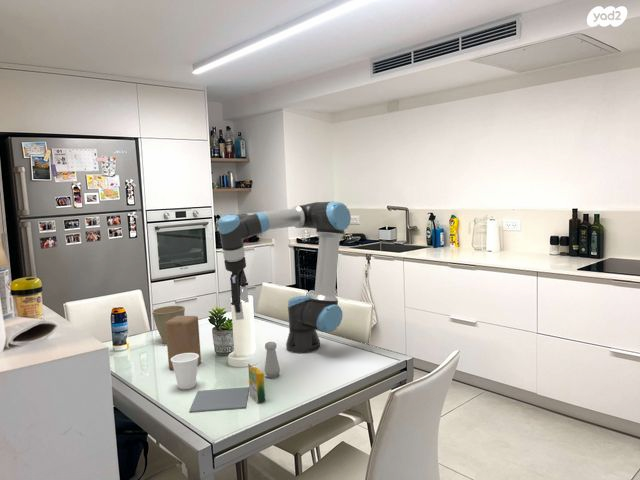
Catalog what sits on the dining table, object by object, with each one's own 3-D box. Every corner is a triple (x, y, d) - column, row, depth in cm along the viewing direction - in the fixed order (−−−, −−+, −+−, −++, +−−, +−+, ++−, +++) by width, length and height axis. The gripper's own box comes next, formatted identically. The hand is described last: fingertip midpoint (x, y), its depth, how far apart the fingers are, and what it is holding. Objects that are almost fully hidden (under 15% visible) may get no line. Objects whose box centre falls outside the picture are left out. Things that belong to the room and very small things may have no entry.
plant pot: (174, 335, 242) (171, 304, 240) (193, 339, 233) (191, 307, 232) (148, 343, 230) (145, 311, 228) (167, 348, 221) (165, 314, 220)
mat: (249, 388, 171) (249, 387, 171) (245, 408, 155) (245, 406, 155) (198, 392, 170) (198, 390, 170) (189, 412, 154) (189, 411, 154)
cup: (186, 394, 168) (183, 363, 167) (167, 389, 174) (164, 359, 173) (206, 383, 177) (204, 354, 176) (187, 379, 182) (185, 351, 181)
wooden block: (191, 371, 191) (187, 321, 189) (168, 370, 193) (164, 321, 191) (202, 362, 201) (198, 315, 199) (180, 361, 203) (176, 315, 201)
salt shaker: (282, 374, 183) (280, 340, 182) (276, 379, 178) (274, 345, 176) (268, 372, 185) (266, 339, 184) (262, 378, 180) (260, 344, 178)
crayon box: (265, 401, 160) (263, 367, 158) (257, 403, 158) (255, 369, 157) (257, 393, 166) (255, 361, 165) (249, 396, 164) (247, 363, 163)
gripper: (230, 246, 185) (237, 296, 192) (217, 272, 162) (227, 327, 169) (249, 245, 185) (256, 294, 192) (239, 270, 162) (248, 326, 169)
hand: (242, 310), depth 181 cm, fingers open, 13 cm apart
